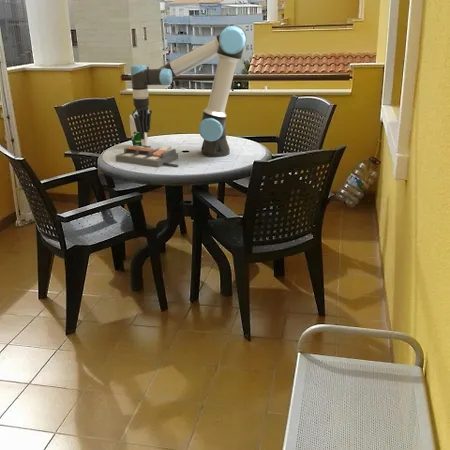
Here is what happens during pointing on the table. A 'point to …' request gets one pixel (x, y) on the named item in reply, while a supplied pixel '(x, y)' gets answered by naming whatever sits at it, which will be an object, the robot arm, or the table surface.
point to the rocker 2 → (161, 151)
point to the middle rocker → (148, 149)
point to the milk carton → (135, 133)
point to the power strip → (147, 157)
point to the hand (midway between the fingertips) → (144, 145)
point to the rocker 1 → (135, 147)
